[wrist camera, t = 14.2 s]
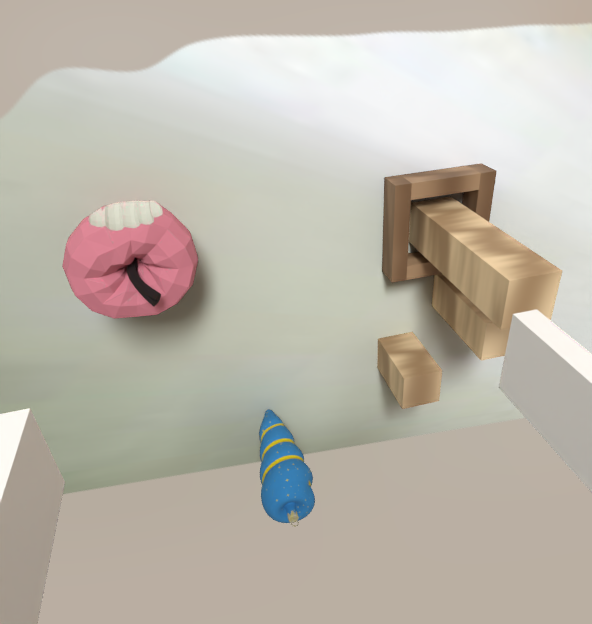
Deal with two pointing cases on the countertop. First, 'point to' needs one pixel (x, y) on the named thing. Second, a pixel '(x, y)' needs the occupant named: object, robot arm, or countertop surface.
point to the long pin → (483, 260)
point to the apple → (130, 260)
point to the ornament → (283, 473)
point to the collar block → (423, 185)
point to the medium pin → (468, 320)
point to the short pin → (409, 370)
